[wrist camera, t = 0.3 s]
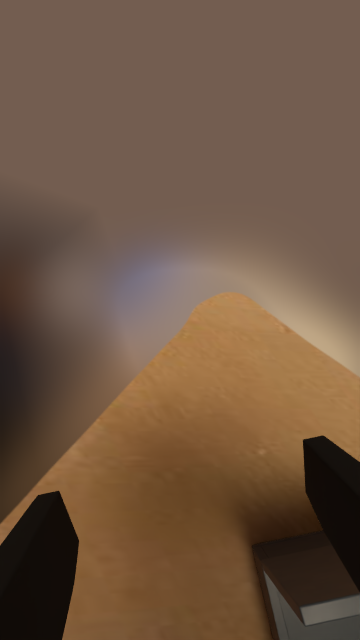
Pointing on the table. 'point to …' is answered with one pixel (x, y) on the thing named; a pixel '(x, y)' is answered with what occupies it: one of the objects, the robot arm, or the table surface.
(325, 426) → the table surface
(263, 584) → the cooker
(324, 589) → the lid
